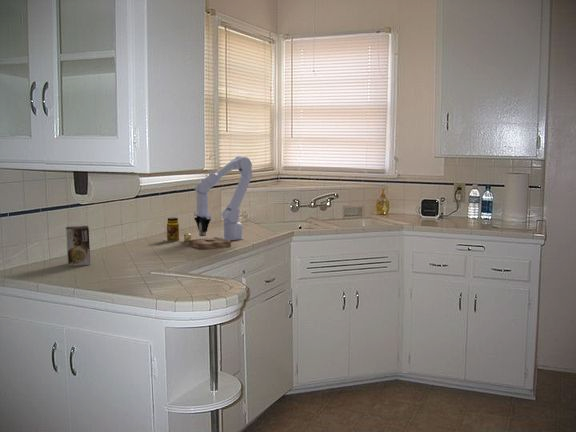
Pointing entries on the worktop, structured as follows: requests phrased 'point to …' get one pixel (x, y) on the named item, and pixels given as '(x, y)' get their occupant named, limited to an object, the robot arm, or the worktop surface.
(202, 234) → the grey cylinder
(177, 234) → the condiment
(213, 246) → the hole block
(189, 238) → the short stub
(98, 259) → the worktop surface
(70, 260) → the coffee box
